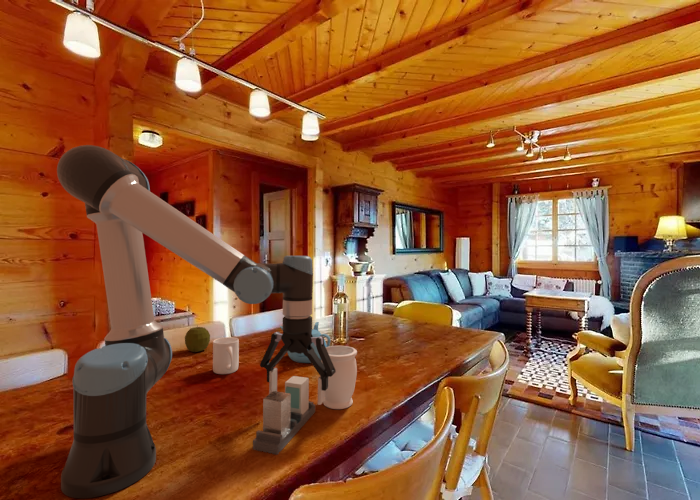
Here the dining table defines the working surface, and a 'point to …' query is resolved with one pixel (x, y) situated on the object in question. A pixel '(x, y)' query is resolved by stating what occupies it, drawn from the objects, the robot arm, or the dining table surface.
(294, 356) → the teapot
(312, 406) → the rail
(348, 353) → the jar
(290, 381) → the block
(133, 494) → the dining table surface
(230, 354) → the mug
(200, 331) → the olive green ball
